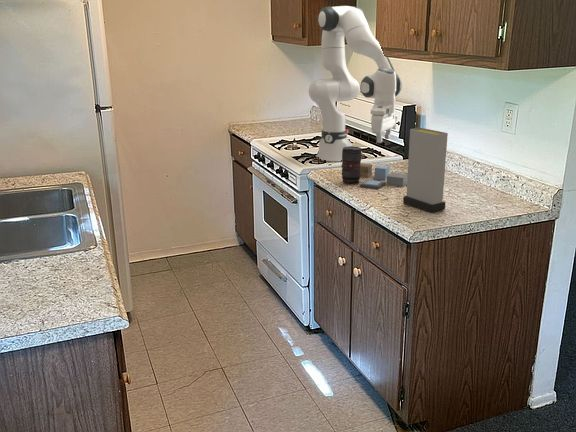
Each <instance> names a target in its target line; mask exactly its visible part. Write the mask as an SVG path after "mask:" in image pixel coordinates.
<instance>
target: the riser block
mask: <svg viewBox="0 0 576 432" xmlns="http://www.w3.org/2000/svg"><path fill="white" fill-rule="evenodd" d="M407 177H408V173H401V172H393V171H392V172H391V173H390V172H389V175H388V176H387V179H386V186H392V187H394V186H395V187H405V185H407V184H406V183H407Z"/></svg>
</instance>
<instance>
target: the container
mask: <svg viewBox="0 0 576 432" xmlns="http://www.w3.org/2000/svg"><path fill="white" fill-rule="evenodd" d="M448 134H449V133H448V132H445V131H439V130H434V129H428V128H424V127H416V128H410V129H409V144H408V145H409V146H408V161H407V164H408V165H407V174H408V177H407V184H406V195H404V196H403V200H402V202H403V204H405V205H408V206H411V207H412V208H413V207H414V208H416V209H419V210H423V211H424V212H429V213H436V212H438V211H439V212H440V211H443V210H445V209H446V202H445V201H444V185H445V175H446V174H445V172H446V160H447V159H446V158H447V146H448Z"/></svg>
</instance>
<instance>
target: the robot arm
mask: <svg viewBox="0 0 576 432" xmlns="http://www.w3.org/2000/svg"><path fill="white" fill-rule="evenodd" d="M317 22H318V26H319V27H320V30H322V33H321V46H320V48H321V65H322V67H323V68H324V69H325V70H327V71H329V72H330V73H331V74H332V78H320V79H317V80H314V81H312V82H311V83H310V85H309V87H308V95H309V98H310V99H311V100H312V101H313V102H314V103H315V104H316V105H317V106H318V108H319V110H320V113H321V118H322V130H321V139H320V140H319V143H318V153H316V156H315V157H316V158H318V157H319V158H318V159H319V160H320V159H321V161H324V160H326V161H325V162H342V161H341V160H342V150H343V147H346V146H353V143H352V142H351V141H350V140H349V139H348V134H349V129H346V114H345V113H344V111H343V110H341V109H339V108H337V106H336V102H337V103H338V102H348V101H352V100H355V99H357V98H358V97H359V95H360V93H361V94H362V95H363V97H365V98H367V99H374V101H373V102H374V103H373V106H372V107H371V109H370V115H371V118H370V119H371V120H370V121H371V122H370V124H371V125H370V126H371V132H372V134H375V136H376V142H377V144H381V143H383V137H382V136H383V135H382V134H383V132H385V135H384V139H385V140H389V139H390V138H391V132H392V128H394V127H396V122H397V121H396V119H397V118H396V115H397V114H396V106H397V105H396V102H397V101H396V97H397V96H398V95H399V94H400V92H401V91H402V88H403V82H402V80H401V78H400V76H399V75H398V74H397V72H396V70H395V68H394V66H393V64H392V62H391V60H390V58H389V56H388V57H385V56H384V54H383V51H382V49H381V46H380V44H381V43H380V42H379V41H378V40H377V38H376V37H375V36H374V35H373V33H372V31H371V29H370V26H369V24H368V21H367V18H366V17H365V12H364V10H363V8H361V7H358V6H355V5H354V6H350V5H339V6H337V5H336V6H325V7H323V8H321V9H320V11H319V12H318V15H317ZM345 40H346V41H345ZM345 43H347V46H348V48H349V50H351V51H352V52H354V53H355V54H358V55H361V56H365V57H368V58H369V59H371V60H373V61H374V62H375V64H376V65H377V70H376V71H375V72H373V73H372V74H370V75H366V76H364V77H363V78H362V79H361V83H359V81H358V80H357V79H356V78H354V77H353V75H352V74H351V73H350V71H349V70H348V66H347V60H346V46H345V45H346V44H345ZM379 43H380V44H379Z"/></svg>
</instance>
